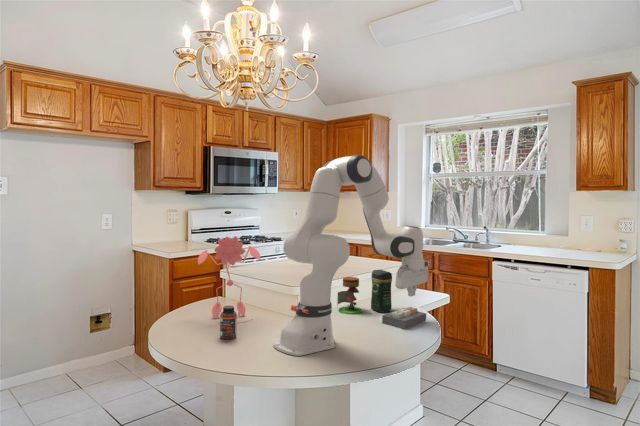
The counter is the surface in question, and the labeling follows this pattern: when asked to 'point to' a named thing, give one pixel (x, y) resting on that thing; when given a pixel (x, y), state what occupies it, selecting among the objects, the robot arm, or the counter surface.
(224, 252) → the figurine
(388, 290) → the coffee jar
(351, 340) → the counter surface
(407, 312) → the key mid
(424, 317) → the keypad
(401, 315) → the key left
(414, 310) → the key right
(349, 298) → the red green toy sculpture
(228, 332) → the supplement bottle
